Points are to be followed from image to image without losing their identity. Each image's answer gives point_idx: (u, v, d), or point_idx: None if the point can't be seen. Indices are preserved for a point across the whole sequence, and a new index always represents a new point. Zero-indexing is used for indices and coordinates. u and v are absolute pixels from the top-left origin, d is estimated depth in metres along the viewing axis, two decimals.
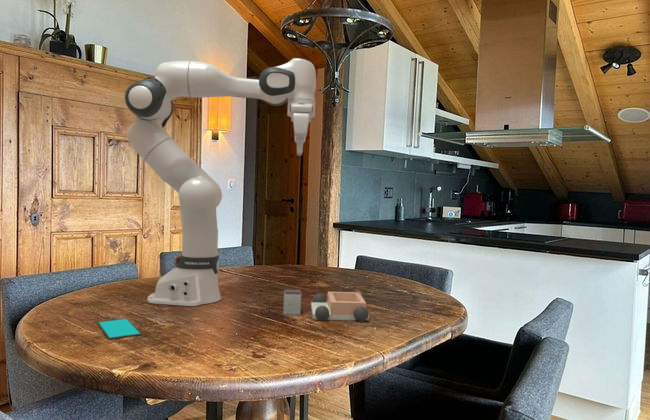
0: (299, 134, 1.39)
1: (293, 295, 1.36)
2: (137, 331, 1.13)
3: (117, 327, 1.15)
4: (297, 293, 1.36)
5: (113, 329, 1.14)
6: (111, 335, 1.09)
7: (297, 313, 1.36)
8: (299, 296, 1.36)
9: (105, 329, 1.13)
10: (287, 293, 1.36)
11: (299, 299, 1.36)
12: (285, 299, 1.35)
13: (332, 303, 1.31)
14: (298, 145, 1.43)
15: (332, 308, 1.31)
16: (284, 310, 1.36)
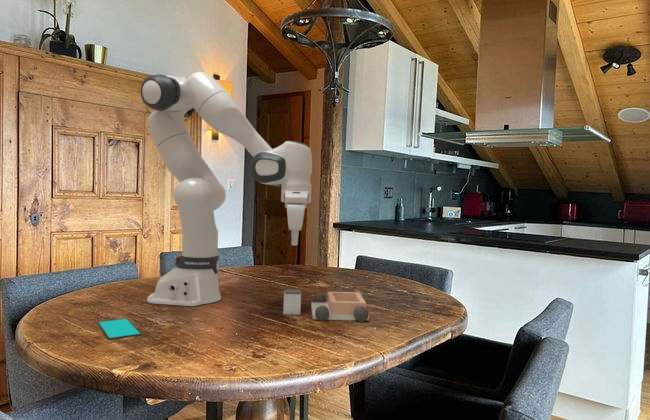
0: (293, 228, 1.27)
1: (293, 295, 1.36)
2: (137, 331, 1.13)
3: (117, 327, 1.15)
4: (297, 293, 1.36)
5: (113, 329, 1.14)
6: (110, 336, 1.09)
7: (297, 313, 1.36)
8: (299, 296, 1.36)
9: (105, 329, 1.13)
10: (287, 293, 1.36)
11: (299, 299, 1.36)
12: (285, 299, 1.35)
13: (332, 303, 1.31)
14: (292, 237, 1.31)
15: (332, 308, 1.31)
16: (284, 310, 1.36)
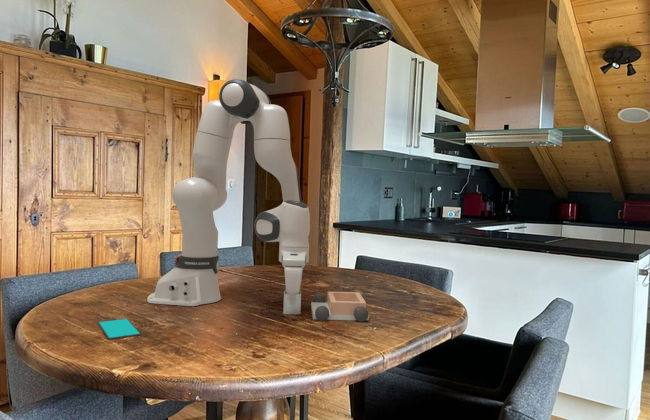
0: (291, 292, 1.28)
1: None
2: (137, 331, 1.13)
3: (117, 327, 1.15)
4: (297, 293, 1.36)
5: (113, 329, 1.14)
6: (110, 336, 1.09)
7: (297, 313, 1.36)
8: (299, 296, 1.36)
9: (105, 329, 1.13)
10: (287, 293, 1.36)
11: (299, 299, 1.36)
12: (285, 299, 1.35)
13: (332, 303, 1.31)
14: (290, 297, 1.34)
15: (332, 308, 1.31)
16: (284, 310, 1.36)
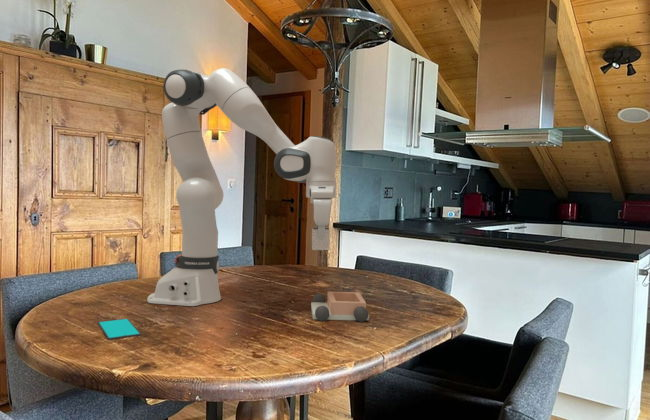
0: (321, 223, 1.27)
1: None
2: (137, 331, 1.13)
3: (117, 327, 1.15)
4: (325, 228, 1.35)
5: (113, 329, 1.14)
6: (110, 336, 1.09)
7: (326, 248, 1.35)
8: (328, 231, 1.35)
9: (105, 329, 1.13)
10: (315, 228, 1.35)
11: (328, 234, 1.35)
12: (314, 234, 1.35)
13: (332, 303, 1.31)
14: (319, 232, 1.33)
15: (332, 308, 1.31)
16: (313, 246, 1.35)
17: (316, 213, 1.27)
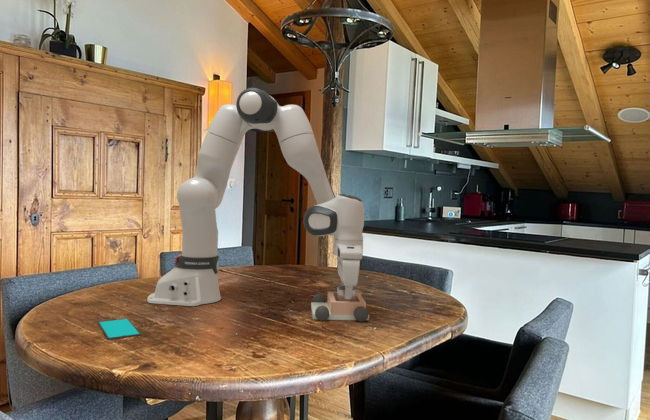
0: (349, 284, 1.29)
1: None
2: (137, 331, 1.13)
3: (117, 327, 1.15)
4: None
5: (113, 329, 1.14)
6: (110, 336, 1.09)
7: None
8: (353, 292, 1.37)
9: (105, 329, 1.13)
10: (342, 289, 1.37)
11: (353, 295, 1.37)
12: (340, 295, 1.37)
13: (332, 303, 1.31)
14: (346, 291, 1.33)
15: (332, 308, 1.31)
16: None
17: (345, 274, 1.28)
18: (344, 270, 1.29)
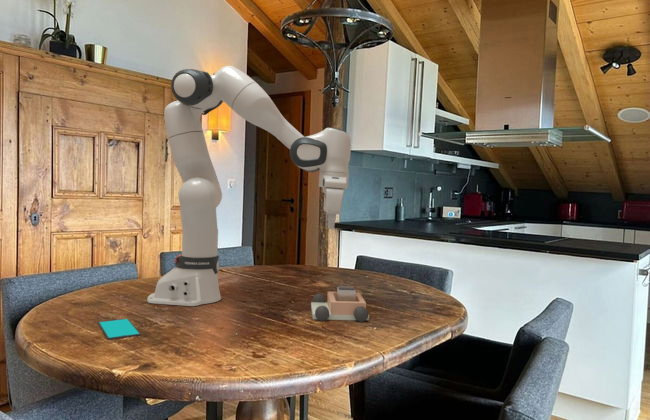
0: (332, 212, 1.31)
1: (348, 291, 1.37)
2: (137, 331, 1.13)
3: (117, 327, 1.15)
4: (351, 289, 1.37)
5: (113, 329, 1.14)
6: (110, 336, 1.09)
7: None
8: (353, 292, 1.37)
9: (105, 329, 1.13)
10: (342, 289, 1.37)
11: (353, 295, 1.37)
12: (340, 295, 1.37)
13: (332, 303, 1.31)
14: (329, 221, 1.35)
15: (332, 308, 1.31)
16: None
17: (328, 202, 1.30)
18: (328, 198, 1.31)
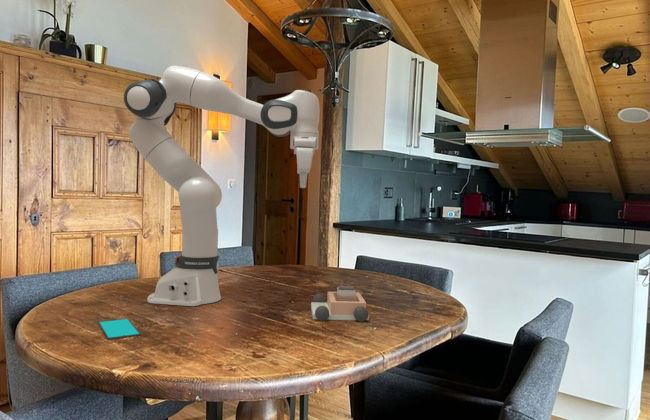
0: (302, 170, 1.35)
1: (348, 291, 1.37)
2: (136, 331, 1.13)
3: (117, 327, 1.15)
4: (351, 289, 1.37)
5: (113, 329, 1.14)
6: (110, 335, 1.09)
7: None
8: (353, 292, 1.37)
9: (105, 329, 1.13)
10: (342, 289, 1.37)
11: (353, 295, 1.37)
12: (340, 295, 1.37)
13: (332, 303, 1.31)
14: (301, 180, 1.39)
15: (332, 308, 1.31)
16: None
17: (298, 160, 1.35)
18: (298, 156, 1.35)
